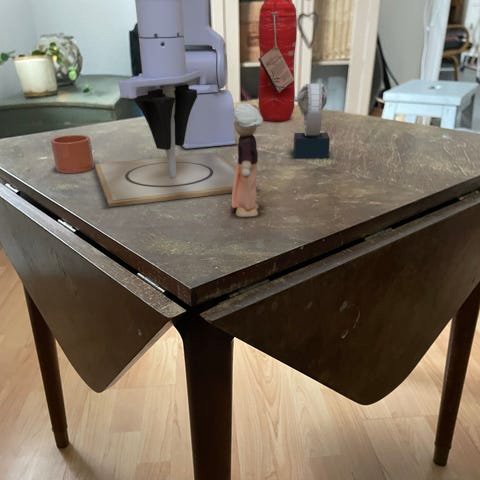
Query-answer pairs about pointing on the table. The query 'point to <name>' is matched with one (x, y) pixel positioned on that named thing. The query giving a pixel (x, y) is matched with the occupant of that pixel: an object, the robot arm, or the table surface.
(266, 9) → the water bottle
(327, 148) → the watch
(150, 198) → the sketch board
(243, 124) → the grandmother figurine
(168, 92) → the pen
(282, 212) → the table surface
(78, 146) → the pen pot
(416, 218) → the table surface
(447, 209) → the table surface
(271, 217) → the table surface
